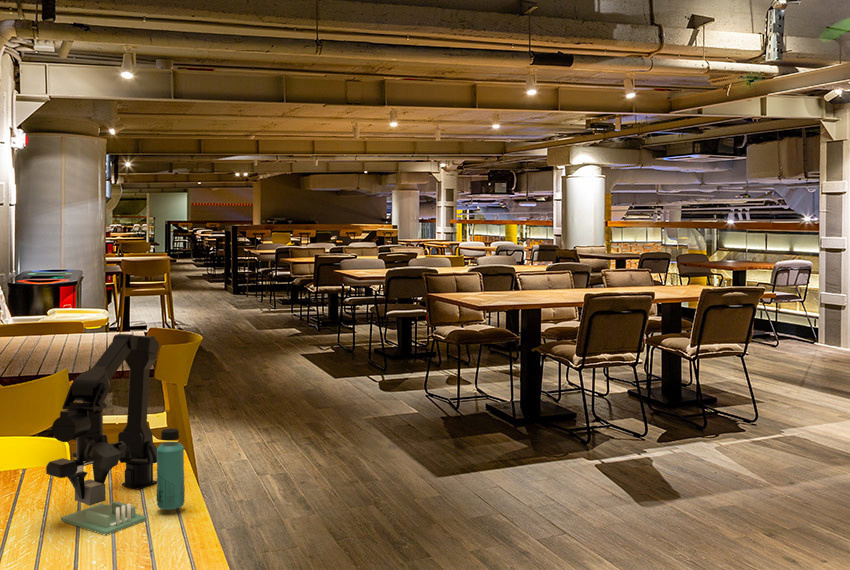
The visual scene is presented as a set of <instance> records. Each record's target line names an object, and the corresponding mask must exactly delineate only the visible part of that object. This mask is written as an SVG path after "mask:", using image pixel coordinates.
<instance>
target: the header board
mask: <svg viewBox="0 0 850 570" xmlns="http://www.w3.org/2000/svg"><path fill="white" fill-rule="evenodd" d="M136 508H137V507H136V506H133V505H132V503H129V502H128V503H123V502H120V501H116V500H115V501H112V502H111V505H109V504H105V503H100V504H99V503H98V504H97V505H96V504H95V505H94V506H93V505H92V506H91V507H87V508H85V509H81V510H78V511H75V512H73V513H69V514H67V515H63V516H60V522H64V523H66V524H70V525H73V526H75V527H78V526H79V527H78V528H81V527H82V528H83V529H84V528H86V529H85V530H87V529H89V530H88V531H90V530H92V531H91V532H94V531H96V532H95V533H97V532H99V533H98V534H100V533H102V534H101V535H103V534H105V535H104V536H108V535H107V534H109V535H111V534H110V533H112V534H114V533H116V532H115V531H117V532H119V531H122V530H124V529H123V528H125V529H127V528H130V527H132V526H131V525H133V526H134V524H135V525H138V524H140V522H141V523H143V522H146V521H147V519H148V516H145V515H141V514H138V513H137V512H136V510H137V509H136ZM137 523H138V524H137ZM129 526H130V527H129ZM126 527H127V528H126ZM121 529H122V530H121ZM118 530H119V531H118ZM113 532H114V533H113Z"/></svg>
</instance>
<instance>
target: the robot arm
mask: <svg viewBox="0 0 850 570" xmlns="http://www.w3.org/2000/svg"><path fill="white" fill-rule="evenodd" d="M159 349H160V343H159V341H158V340H157V339H156V337H155V336H153V335H137V334H136V335H134V334H130V333H129V334H128V333H117V334H114V335H113V338H112V341H111V343H110V344H109V346H107V348H106V350H105V351H104V352H103V353H102V355H101V356H100V357H99V359H98V360H97V361H96V363H95V364H94V365H93V366H92V367H91V368H90V369H87V370H84V371H83V372H81V373H80V374H78V376H77V377H75V378H74V379H73V381H72V382H71V384H70V386H69V389H68V392H67V395H66V397H65V400H64V402H63V405H62V410H61V411H60V412H59V417H57V418H56V419H55V420H54V421H53V423H52V426H51V433H52V436H53V437H54V438H55V439H56V441H58V442H61V443H68V442H70V441H75V442H76V443H75V444H76V445H75V447H76V448H75V450H76V451H75V452H73V453H72V458H74V459H73V460H70V459H67V458H65V457H64V458H63V457H62V458H59V459H55V460H50V461H49V462H48V463H47V464H46V466H45V467H46V468H45V471H46V472H45V474H46V475H48V476H51V477H55V478H59V479H65V478H67V479H68V480H69V481H70V483H71V484H72V487H73V489H74V492H75V491H76V493H77V494H78V496H79V498H80V499H84V493H85V489H84V481H85V478H86V477H87V475H88V472H87V471H84V467H85V466H90V465H92V473H93V480H94V481H97V482H100V483H104V484H105V482H106V481H107V480H106V479H107V477H108V475H109V473H110V471H111V470H112V469H113V468H114V467H117V465H119V463H121V464H125V470H124V482H122V483H121V486H124V487H127V488H131V489H134V490H135V489H136V490H140V489H144V488H146V487H150V486H152V485H153V486H154V485H157V483H156V482H157V480H154V464H157V448H158V447H156V445H155V443H154V439H153V438H154V436H153V433H152V431H151V429H150V426H148V423H147V422H148V406H149V387H150V385H149V384H150V371H151V368H152V367H153V365H154V364H155V362H156V361H157V358H158V352H159ZM124 361H125V364H126V365H127V367H128V368H129V379H128V397H127V398H128V399H127V415H126V417H127V419H126V425H125V427H124V428H123V430H122V431H119V432H118V435H117V437H118V438H117V440H118V441H117V442H115V443H114V442H113V443H109V441H108V436H107V434H105V433H104V422H103V421H104V419H103V417H104V415H103V411H104V409H106V408H107V407H108V405H107V404H106V403H105V402H104V401H105V400H106V398H107V397H108V394H109V392H110V390H111V379H112V378H113V377H114V376H115V374H116V373H117V371H118V370H119V368H120V367H121V365H122V364H123V363H124ZM75 458H76V459H75Z"/></svg>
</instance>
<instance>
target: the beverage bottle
mask: <svg viewBox="0 0 850 570" xmlns="http://www.w3.org/2000/svg"><path fill="white" fill-rule="evenodd" d="M179 432H180V431H179V429H177V428H165V429H164V428H163V429H162V430H161V436H160V439H161V440H162V441H165V442H162V443H161V444H159V445H158V447H156V448H157V463H156V481H157V482H156V493H155V494H156V506H157V508H159V509H161V510H174V509H176V510H177V509H180V508H181V507H183V506H184V505H185V500H186V496H185V495H186V494H185V492H186V490H185V489H186V485H185V478H186V477H185V465H184V464H185V462H184V461H185V460H184V459H185V458H184V456H185V454H184V453H185V447H184V445H182V444H181V443H180V442H178V441H175V440H178V439H180V434H179Z"/></svg>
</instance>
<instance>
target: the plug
mask: <svg viewBox="0 0 850 570" xmlns="http://www.w3.org/2000/svg"><path fill="white" fill-rule="evenodd" d="M84 489H85V493H84V499H80V498H79V496H78V494H77V493H76V491H75V490H74V501H76V502H79V503H82V504H84V505H87V506H91V507H92V506H93V505H94V506H95V505H96V504H97V505H98V504H99V503H100V504H101V503H104V502H106V500H107V499H106V490H107V489H106V483H105V482H104V483H100V482H97V481H94V479H91V478H89V479H86V480H84Z"/></svg>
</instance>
